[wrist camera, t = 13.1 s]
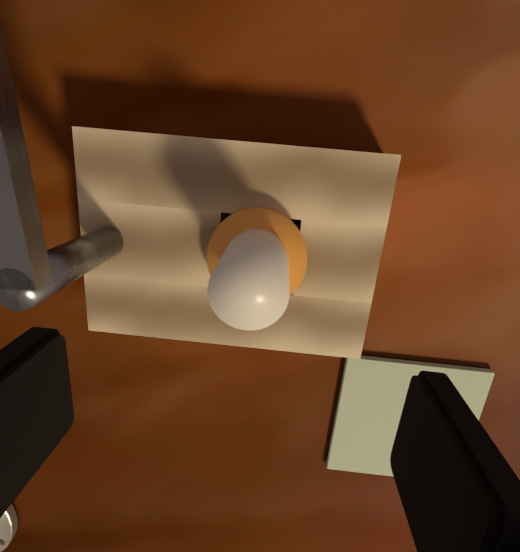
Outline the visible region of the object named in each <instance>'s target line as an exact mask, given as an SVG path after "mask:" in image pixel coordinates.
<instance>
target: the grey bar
mask: <svg viewBox="0 0 520 552" xmlns="http://www.w3.org/2000/svg"><path fill="white" fill-rule="evenodd" d="M122 248H123V238H122V236H121V234H120V233H119V232H118V231H117V230H116V229H114V228H112V227H102V228H99V229H97V230H94V231H92V232H90V233H87V234H85V235H82V236H80V237H78V238H75V239H73V240H70V241H68V242H66V243H63V244H61V245H59V246H56V247H54V248H51V249H49V250H47V249H46V244H45V239H44V234H43V229H42V224H41V219H40V214H39V209H38V204H37V199H36V194H35V189H34V184H33V180H32V175H31V170H30V165H29V160H28V155H27V150H26V145H25V140H24V135H23V130H22V125H21V120H20V115H19V110H18V105H17V100H16V95H15V90H14V85H13V80H12V76H11V71H10V66H9V61H8V56H7V51H6V46H5V41H4V36H3V31H2V26H1V21H0V303H1V304H2V305H3V306H5V307H7V308H8V309H11V310H14V311H25V310H28V309H30V308H31V307H33V306H35V305H36V304H38V303H39V302H41V301H43V300H44V299H46V298H48V297H49V296H51V295H52V294H54V293H56V292H57V291H59V290H60V289H62V288H64V287H65V286H67V285H68V284H70V283H72V282H73V281H75V280H77V279H78V278H80V277H81V276H83V275H85V274H86V273H88V272H89V271H91V270H93V269H94V268H96V267H98V266H99V265H101V264H102V263H104V262H106V261H107V260H109V259H110V258H112V257H114V256H115V255H117V254H118V253H120V252H121V250H122Z"/></svg>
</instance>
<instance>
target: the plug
mask: <svg viewBox="0 0 520 552" xmlns="http://www.w3.org/2000/svg"><path fill="white" fill-rule="evenodd" d="M207 266H208V270H209V274H210V279H209V282H208V288H207V293H208V300H209V303H210V306H211V308H212V310H213V311H214V313H215V314H216V315H217V316H218V317H219V318H220V319H221V320H222V321H223V322H224V323H226V324H228V325H229V326H231V327H234V328H237V329H240V330H248V331H252V330H259V329H263V328H266V327H268V326H270V325H272V324H273V323H275V322H276V321H277V320H278V319H279V318H280V317H281V316H282V315H283V313H284V312H285V310H286V308H287V305H288V302H289V296H290V295H291V294H292V293H293V292H294V291H295V290H296V289H297V288H298V286H299V285H300V283H301V282H302V280H303V278H304V275H305V272H306V268H307V250H306V246H305V241H304V239H303V236H302V234H301V232H300V230H299V229H298V227H297V226H296V224H295V223H294V222H293V221H292V220H291V219H290V218H288V217H287V216H286V215H284V214H282V213H281V212H279V211H276V210H274V209H271V208H266V207H248V208H244V209H241V210H238V211H236V212H234V213H232V214H231V215H229V216H228V217H227V218H225V219H224V220H223V221H222V222H221V224H220V225H219V226H218V227H217V228H216V230H215V231H214V233H213V234H212V236H211V238H210V241H209V244H208V248H207Z"/></svg>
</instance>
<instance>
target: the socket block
mask: <svg viewBox="0 0 520 552" xmlns="http://www.w3.org/2000/svg"><path fill="white" fill-rule="evenodd" d="M72 134H73V146H74V158H75V171H76V183H77V195H78V208H79V220H80V232H81V236H82V235H85V234H87V233H90V232H92V231H94V230H97V229H99V228H102V227H112V228H114V229H116V230H117V231H118V232H119V233H120V234H121V236H122V238H123V248H122V250H121V252H120V253H118V254H117V255H115V256H114V257H112V258H110V259H109V260H107V261H106V262H104V263H102V264H101V265H99V266H98V267H96V268H94V269H93V270H91V271H89V272H88V273H86V274H85V275H84V281H85V294H86V306H87V318H88V330H90V331H100V332H109V333H119V334H128V335H137V336H147V337H156V338H166V339H175V340H185V341H194V342H204V343H213V344H223V345H232V346H242V347H251V348H261V349H270V350H279V351H289V352H298V353H308V354H317V355H327V356H336V357H346V358H355V359H360V358H361V353H362V348H363V343H364V338H365V333H366V328H367V323H368V318H369V313H370V308H371V303H372V298H373V293H374V288H375V283H376V278H377V273H378V269H379V264H380V259H381V254H382V249H383V244H384V239H385V234H386V229H387V224H388V219H389V214H390V209H391V204H392V199H393V194H394V189H395V184H396V179H397V174H398V169H399V164H400V159H401V155H394V154H383V153H372V152H360V151H349V150H337V149H326V148H315V147H303V146H292V145H281V144H269V143H258V142H246V141H235V140H224V139H212V138H201V137H190V136H178V135H167V134H155V133H144V132H133V131H121V130H110V129H99V128H87V127H76V126H72ZM248 207H266V208H271V209H274V210H276V211H279V212H281V213H282V214H284V215H286V216H287V217H288V218H290V219H296V220H298V224H297V227H298V229H299V230H300V232H301V234H302V236H303V239H304V241H305V246H306V250H307V268H306V272H305V275H304V278H303V280H302V282H301V283H300V285H299V286H298V288H297V289H296V290H295V291H294V292H293V293H292V294H291V295H290V296H289V302H288V305H287V308H286V310H285V312H284V313H283V315H282V316H281V317H280V318H279V319H278V320H277V321H276V322H275V323H273V324H272V325H270V326H268V327H266V328H263V329H259V330H252V331H248V330H240V329H237V328H234V327H231V326H229V325H228V324H226V323H224V322H223V321H222V320H221V319H220V318H219V317H218V316H217V315H216V314H215V313H214V311H213V310H212V308H211V306H210V303H209V300H208V293H207V288H208V282H209V279H210V274H209V270H208V266H207V248H208V244H209V241H210V238H211V236H212V234H213V233H214V231H215V230H216V228H217V227H218V226H219V225H220V224H221V222H222V221H223V220H224V219H225V218H227V217H228V216H229V213H234V212H236V211H238V210H241V209H244V208H248Z"/></svg>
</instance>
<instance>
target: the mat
mask: <svg viewBox="0 0 520 552" xmlns="http://www.w3.org/2000/svg"><path fill="white" fill-rule="evenodd" d="M420 371H431V372H440V373H445V374H446V375H447V376H448V377H449V379H450V380H451V381H452V383H453V384H454V386H455V387H456V389H457V390H458V392H459V393H460V394H461V396H462V397H463V399H464V400H465V402H466V403H467V405H468V406H469V408H470V409H471V410H472V412H473V413H474V415H475V416H476V418H477V419H478V421H479V418H480V415H481V412H482V409H483V406H484V403H485V401H486V398H487V395H488V392H489V389H490V386H491V383H492V380H493V378H494V375H495V373H494V372H493V371H492V370H491V369H485V368H476V367H466V366H457V365H447V364H438V363H428V362H419V361H409V360H400V359H390V358H381V357H371V356H362V355H361V358H360V359H355V358H346V360H345V366H344V371H343V376H342V382H341V387H340V393H339V398H338V403H337V409H336V414H335V419H334V425H333V430H332V436H331V441H330V446H329V452H328V457H327V462H326V465H327V469H334V470H342V471H351V472H360V473H368V474H377V475H386V476H393V473H392V469H391V464H390V456H391V451H392V447H393V444H394V440H395V436H396V432H397V429H398V425H399V421H400V418H401V414H402V410H403V406H404V403H405V399H406V395H407V391H408V388H409V384H410V380H411V378H412V376H414V375H416V376H418V374H419V373H420Z"/></svg>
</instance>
